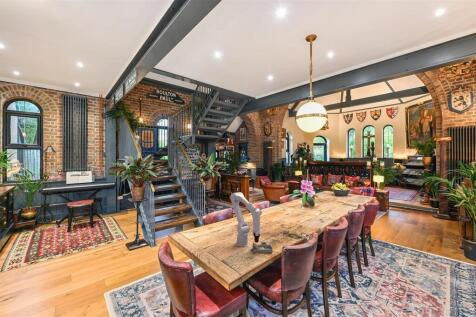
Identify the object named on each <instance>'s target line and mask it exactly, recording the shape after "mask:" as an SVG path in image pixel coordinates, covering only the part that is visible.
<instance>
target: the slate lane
mask: <svg viewBox="0 0 476 317" xmlns="http://www.w3.org/2000/svg"><path fill="white" fill-rule="evenodd" d="M272 244H273V243H272V242H269V244H267V245H261V244H257V245H258V246H260V249H254V252H253V253H263V254H264V253H265V254H273V245H272Z"/></svg>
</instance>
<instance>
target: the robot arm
mask: <svg viewBox="0 0 476 317" xmlns="http://www.w3.org/2000/svg"><path fill="white" fill-rule="evenodd" d="M229 199H230V202H231V205H232V208H233V210H234V214H235V218H236V220H237V225H236V229H237V230H236V231H237V233H236V247H249V240H248V239H249V236H248V235H249V232H250V231H251V230H250V229H251V228H250V226H249V225H248V222H246V221H245V219H244V216H243V213H242V210H241V208H240V202H241V203H242V204H244V205H245V206H246V207H245V208H246V209H247V210H248V211H249V212H250V214H251V217H252V235H253V237H254V238H255V242H254V243H255V244H257V243H259V242H258V240H259V241H260V237H261V233H260V232H262V230H263V229H261V216H262V213H263V212H262V210H261V208H258V207H257V206H255V205H254V204H253V202H249V201H248V200H247V198H246V197H245V196H244V194H243V193H242V192H241V191H238V192H233V193H231V194H230V196H229Z"/></svg>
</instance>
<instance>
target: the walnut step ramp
mask: <svg viewBox="0 0 476 317" xmlns="http://www.w3.org/2000/svg"><path fill="white" fill-rule="evenodd" d="M258 245H259V244H257V243H255V242H252V253H255V252H254V249H260V246H258Z"/></svg>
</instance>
